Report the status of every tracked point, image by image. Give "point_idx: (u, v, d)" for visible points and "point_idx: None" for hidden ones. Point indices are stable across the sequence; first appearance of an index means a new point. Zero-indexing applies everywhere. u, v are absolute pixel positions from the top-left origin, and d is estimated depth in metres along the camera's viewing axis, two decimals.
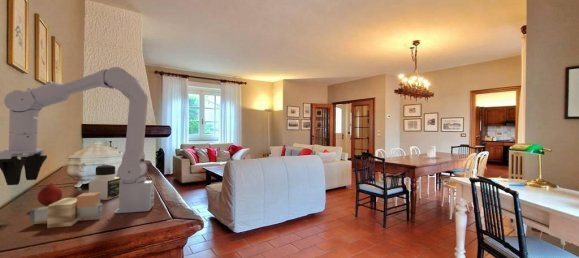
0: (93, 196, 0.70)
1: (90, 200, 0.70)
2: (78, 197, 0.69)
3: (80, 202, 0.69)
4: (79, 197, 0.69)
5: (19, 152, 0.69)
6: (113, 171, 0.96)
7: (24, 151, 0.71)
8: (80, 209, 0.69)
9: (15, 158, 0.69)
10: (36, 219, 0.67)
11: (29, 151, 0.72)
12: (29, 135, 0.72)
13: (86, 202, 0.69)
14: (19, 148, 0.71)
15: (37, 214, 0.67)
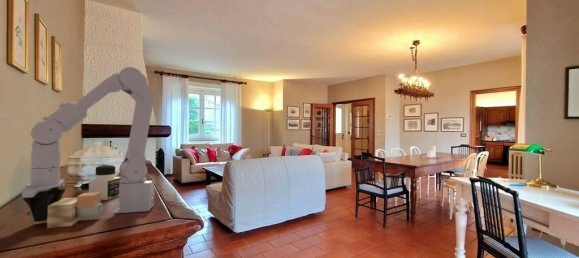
0: (93, 196, 0.70)
1: (90, 200, 0.70)
2: (78, 197, 0.69)
3: (80, 202, 0.69)
4: (79, 197, 0.69)
5: (42, 188, 0.65)
6: (113, 171, 0.96)
7: (47, 186, 0.66)
8: (80, 209, 0.69)
9: (43, 193, 0.66)
10: None
11: (52, 186, 0.67)
12: (52, 169, 0.68)
13: (86, 202, 0.69)
14: (42, 183, 0.66)
15: None
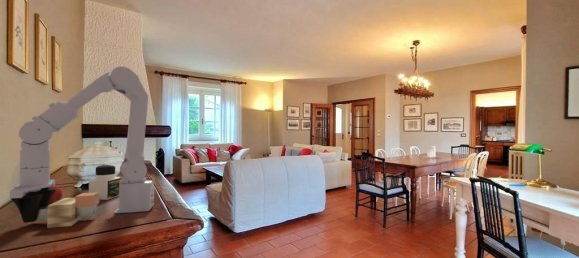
0: (92, 196, 0.70)
1: (89, 200, 0.70)
2: (77, 197, 0.69)
3: (79, 202, 0.69)
4: (78, 197, 0.69)
5: (31, 189, 0.64)
6: (113, 171, 0.96)
7: (36, 187, 0.65)
8: None
9: (32, 194, 0.65)
10: None
11: (41, 186, 0.67)
12: (41, 169, 0.67)
13: (85, 202, 0.69)
14: (31, 183, 0.65)
15: None
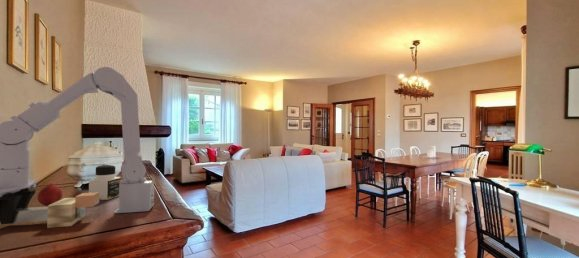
0: (92, 196, 0.70)
1: (89, 200, 0.70)
2: (77, 197, 0.69)
3: (79, 202, 0.69)
4: (78, 197, 0.69)
5: (8, 190, 0.63)
6: (113, 171, 0.96)
7: (14, 188, 0.64)
8: None
9: (9, 195, 0.64)
10: (16, 220, 0.65)
11: (20, 187, 0.65)
12: (20, 169, 0.66)
13: (85, 202, 0.69)
14: (9, 184, 0.64)
15: (17, 215, 0.65)
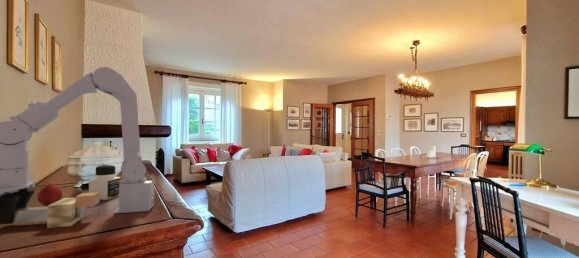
0: (92, 196, 0.70)
1: (89, 200, 0.70)
2: (77, 197, 0.69)
3: (79, 202, 0.69)
4: (78, 197, 0.69)
5: (7, 190, 0.63)
6: (113, 171, 0.96)
7: (12, 188, 0.64)
8: None
9: (8, 195, 0.64)
10: (16, 220, 0.65)
11: (18, 187, 0.65)
12: (18, 170, 0.65)
13: (85, 202, 0.69)
14: (7, 184, 0.64)
15: (17, 215, 0.65)
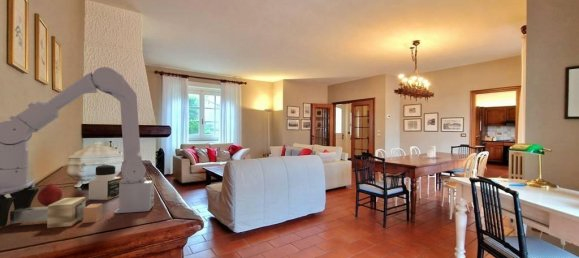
0: (95, 221, 0.70)
1: (90, 219, 0.70)
2: (95, 208, 0.70)
3: (89, 210, 0.70)
4: (95, 209, 0.70)
5: (7, 190, 0.63)
6: (113, 171, 0.96)
7: (12, 188, 0.64)
8: None
9: (2, 197, 0.62)
10: (16, 220, 0.65)
11: (18, 187, 0.65)
12: (18, 169, 0.65)
13: (88, 215, 0.70)
14: (7, 184, 0.64)
15: (17, 215, 0.65)
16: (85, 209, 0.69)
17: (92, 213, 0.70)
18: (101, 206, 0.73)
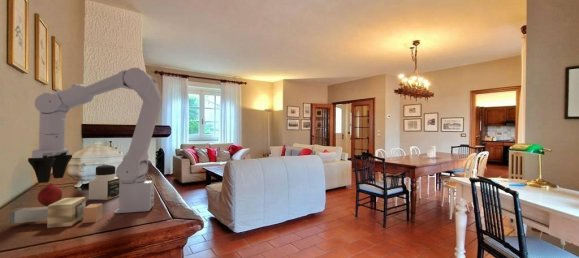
0: (95, 221, 0.70)
1: (90, 219, 0.70)
2: (95, 208, 0.70)
3: (89, 210, 0.70)
4: (95, 209, 0.70)
5: (49, 151, 0.73)
6: (113, 171, 0.96)
7: (54, 151, 0.75)
8: None
9: (46, 157, 0.73)
10: (16, 220, 0.65)
11: (58, 151, 0.76)
12: (58, 135, 0.76)
13: (88, 215, 0.70)
14: (49, 147, 0.75)
15: (17, 215, 0.65)
16: (85, 209, 0.69)
17: (92, 213, 0.70)
18: (101, 206, 0.73)
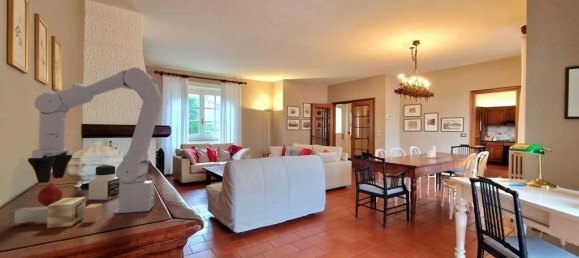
0: (95, 221, 0.70)
1: (90, 219, 0.70)
2: (95, 208, 0.70)
3: (89, 210, 0.70)
4: (95, 209, 0.70)
5: (49, 151, 0.73)
6: (113, 171, 0.96)
7: (54, 151, 0.75)
8: None
9: (46, 157, 0.73)
10: (16, 220, 0.65)
11: (58, 151, 0.76)
12: (58, 135, 0.76)
13: (88, 215, 0.70)
14: (49, 147, 0.75)
15: (17, 215, 0.65)
16: (85, 209, 0.69)
17: (92, 213, 0.70)
18: (101, 206, 0.73)
